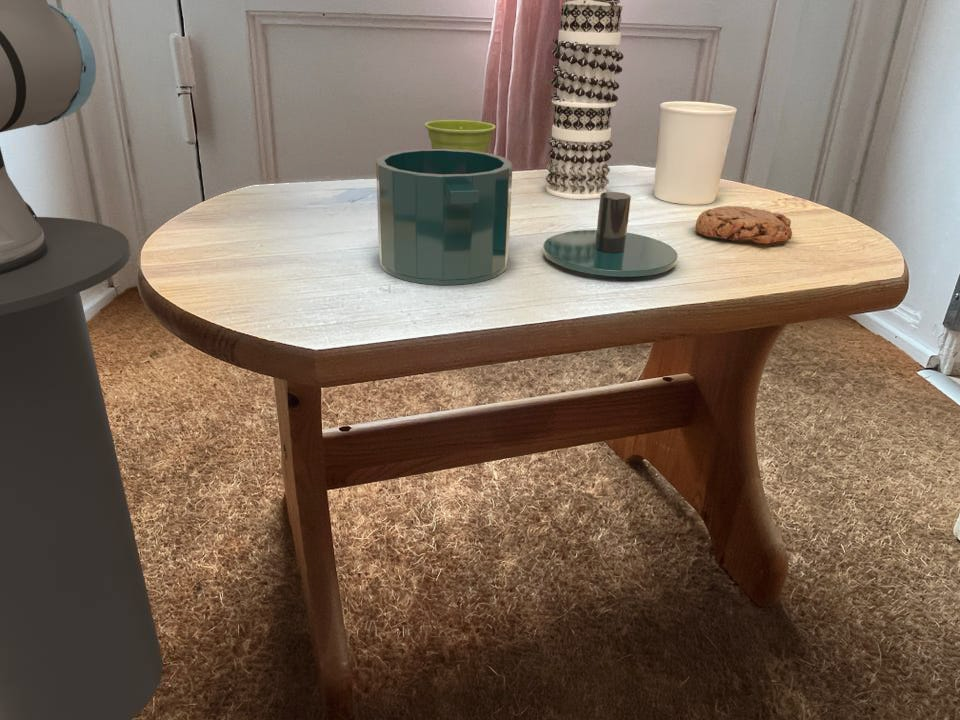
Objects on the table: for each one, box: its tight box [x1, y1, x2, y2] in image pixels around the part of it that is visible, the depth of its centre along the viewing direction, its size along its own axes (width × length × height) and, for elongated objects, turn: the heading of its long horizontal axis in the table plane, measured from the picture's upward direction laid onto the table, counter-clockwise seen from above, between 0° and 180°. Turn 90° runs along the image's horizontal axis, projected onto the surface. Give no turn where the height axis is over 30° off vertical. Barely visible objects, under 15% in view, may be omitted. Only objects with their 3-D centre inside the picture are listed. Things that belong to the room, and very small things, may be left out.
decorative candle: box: [545, 0, 624, 200], centre depth 97 cm, size 9×9×25 cm
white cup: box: [653, 100, 738, 206], centre depth 99 cm, size 10×10×12 cm
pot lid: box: [542, 191, 678, 278], centre depth 74 cm, size 14×14×7 cm
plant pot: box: [424, 119, 496, 153], centre depth 100 cm, size 9×9×9 cm
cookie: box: [695, 205, 793, 244], centre depth 85 cm, size 10×11×3 cm
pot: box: [375, 148, 514, 286], centre depth 71 cm, size 13×18×10 cm
